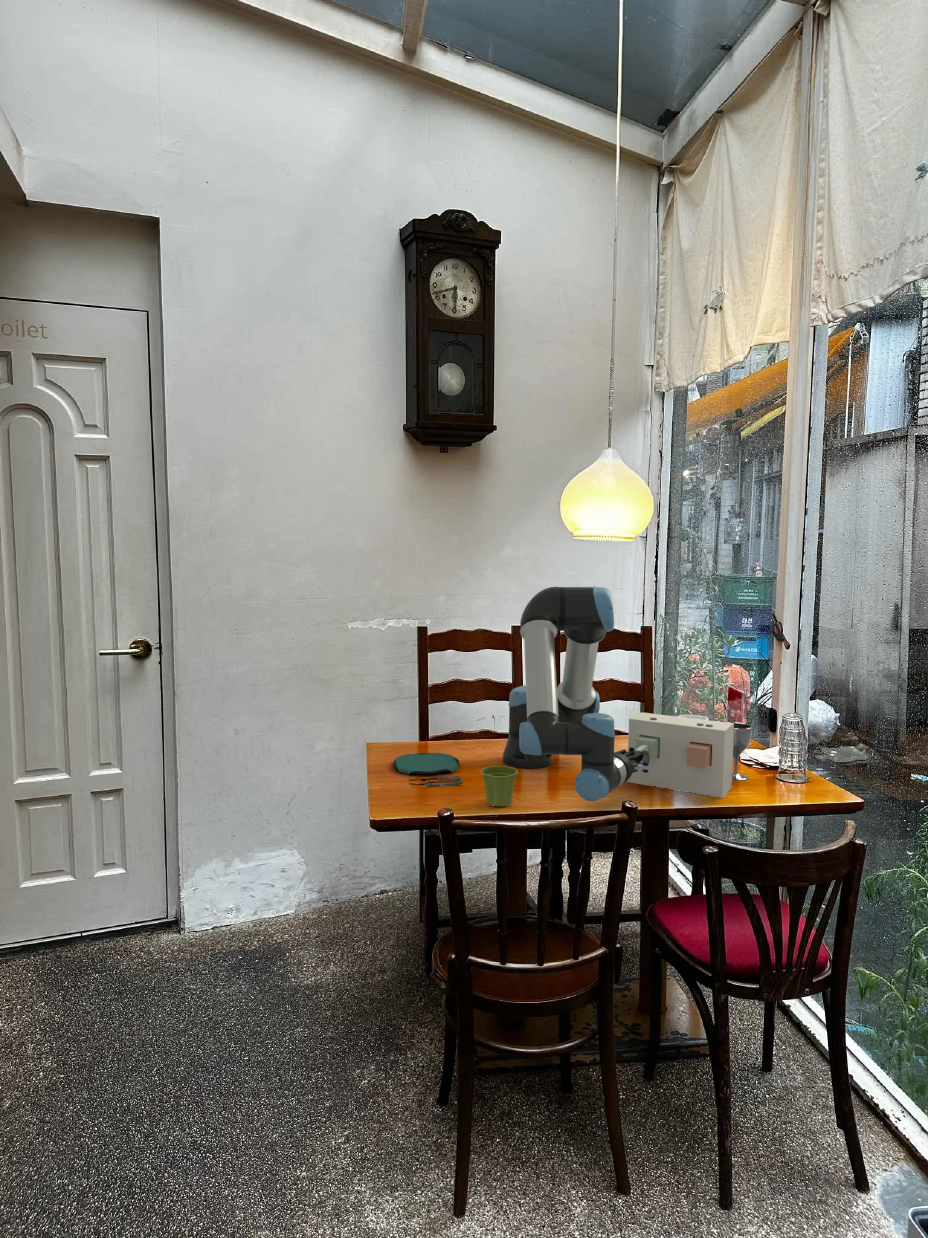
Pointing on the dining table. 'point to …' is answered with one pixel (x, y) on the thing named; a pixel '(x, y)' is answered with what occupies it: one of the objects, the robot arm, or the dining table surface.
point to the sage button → (650, 745)
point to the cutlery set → (428, 766)
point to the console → (684, 753)
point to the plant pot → (499, 784)
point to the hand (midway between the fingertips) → (645, 750)
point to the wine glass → (740, 745)
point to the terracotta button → (699, 754)
